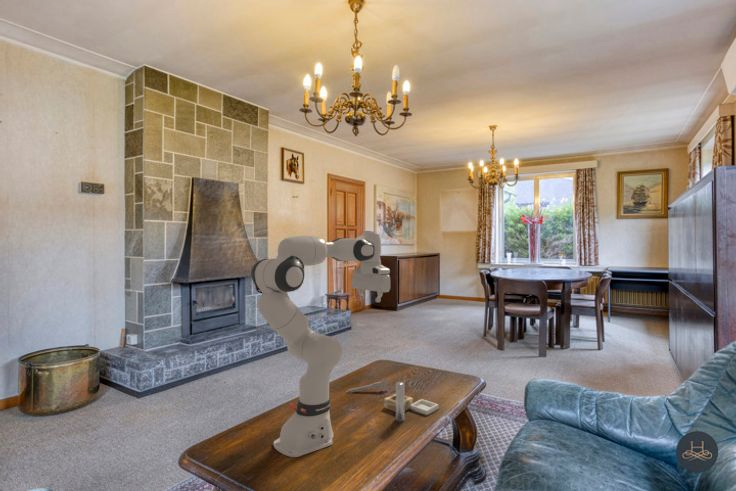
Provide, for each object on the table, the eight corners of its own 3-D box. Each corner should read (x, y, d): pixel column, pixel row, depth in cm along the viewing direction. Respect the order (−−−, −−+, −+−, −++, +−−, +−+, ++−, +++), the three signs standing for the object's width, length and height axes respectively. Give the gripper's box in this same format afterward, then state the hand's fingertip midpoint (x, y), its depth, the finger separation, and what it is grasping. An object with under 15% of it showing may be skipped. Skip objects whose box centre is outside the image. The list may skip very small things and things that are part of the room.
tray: (426, 415, 165) (426, 410, 165) (409, 409, 171) (409, 404, 171) (438, 409, 172) (438, 404, 172) (421, 403, 178) (421, 398, 178)
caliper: (387, 390, 194) (387, 378, 194) (387, 391, 193) (387, 379, 193) (346, 392, 192) (345, 379, 192) (346, 393, 191) (346, 380, 191)
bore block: (400, 413, 167) (400, 404, 167) (384, 407, 173) (384, 398, 173) (412, 407, 174) (412, 398, 174) (397, 401, 180) (397, 392, 180)
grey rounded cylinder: (400, 422, 159) (400, 385, 159) (394, 419, 162) (393, 383, 161) (406, 419, 162) (406, 383, 162) (399, 416, 164) (399, 381, 164)
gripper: (348, 267, 175) (348, 298, 175) (383, 270, 160) (382, 304, 160) (358, 267, 179) (358, 297, 179) (393, 270, 165) (392, 302, 165)
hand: (369, 300), depth 170 cm, fingers open, 8 cm apart
